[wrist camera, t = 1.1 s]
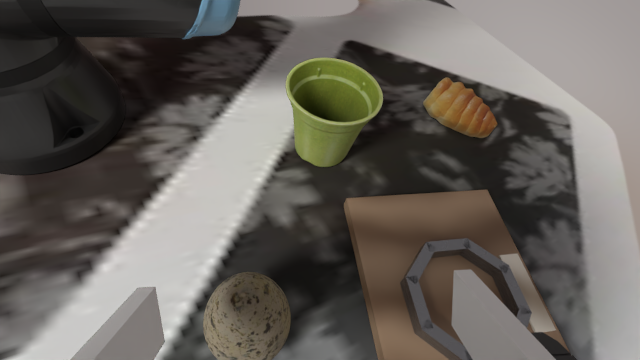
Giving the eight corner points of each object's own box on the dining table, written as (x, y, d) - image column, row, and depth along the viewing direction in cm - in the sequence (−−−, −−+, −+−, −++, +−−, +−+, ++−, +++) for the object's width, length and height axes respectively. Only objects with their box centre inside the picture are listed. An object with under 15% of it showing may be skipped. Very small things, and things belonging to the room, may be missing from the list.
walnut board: (343, 205, 36) (346, 197, 34) (479, 196, 39) (487, 188, 37) (406, 483, 23) (415, 487, 22) (596, 436, 27) (615, 437, 25)
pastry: (497, 124, 47) (513, 103, 44) (477, 151, 44) (494, 130, 40) (437, 89, 50) (449, 67, 46) (415, 112, 46) (426, 89, 43)
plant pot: (343, 112, 44) (359, 53, 37) (374, 171, 39) (399, 115, 32) (271, 123, 41) (274, 61, 34) (295, 188, 36) (304, 131, 29)
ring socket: (390, 251, 32) (395, 244, 30) (486, 242, 34) (494, 235, 33) (426, 374, 26) (434, 372, 25) (538, 354, 28) (550, 351, 27)
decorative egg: (282, 377, 26) (293, 357, 18) (202, 372, 25) (176, 349, 17) (290, 297, 29) (301, 250, 21) (219, 292, 29) (204, 241, 21)
